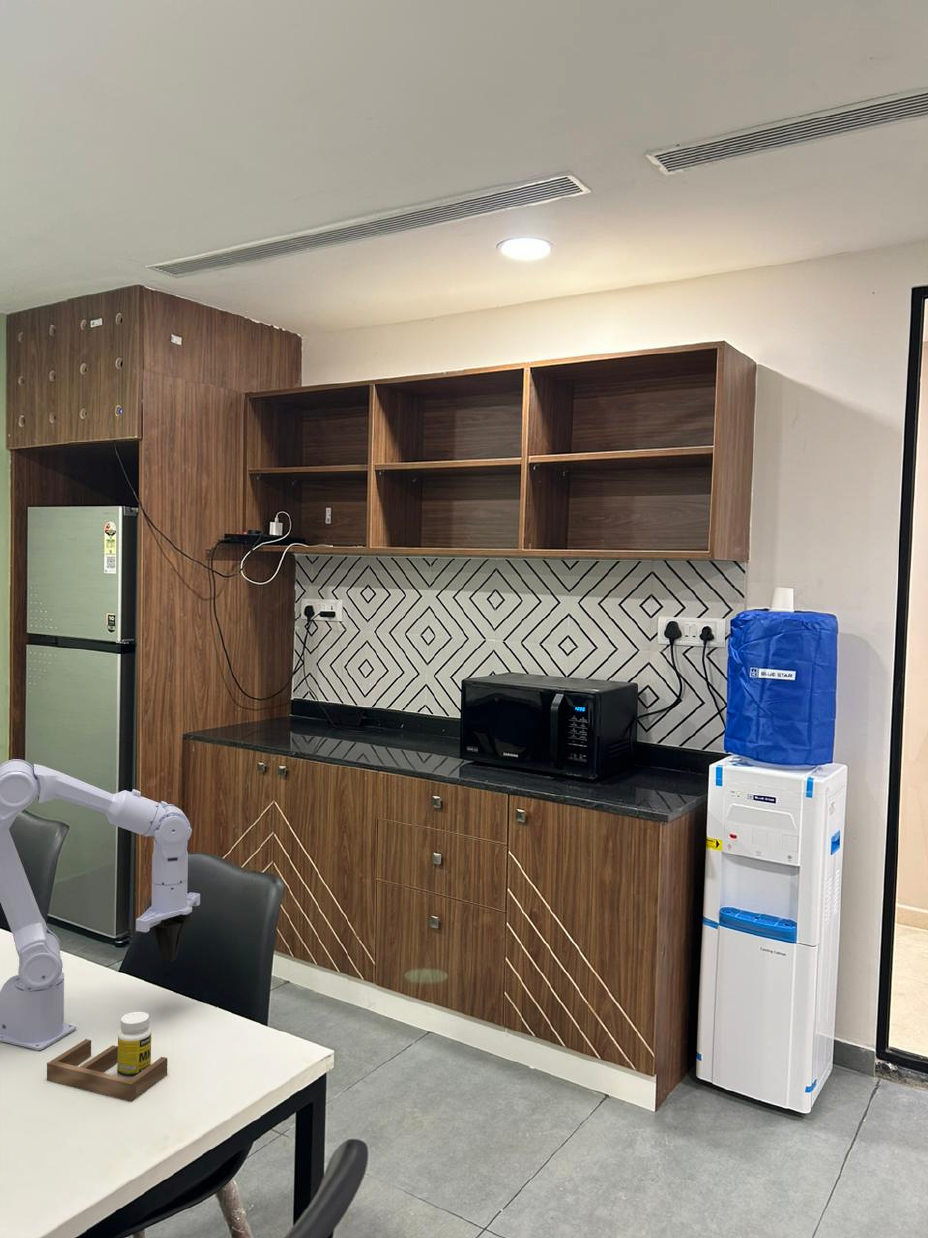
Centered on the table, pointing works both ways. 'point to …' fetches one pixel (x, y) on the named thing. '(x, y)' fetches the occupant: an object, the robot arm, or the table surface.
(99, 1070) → the frame
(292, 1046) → the table surface
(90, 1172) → the table surface
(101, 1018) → the table surface
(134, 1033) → the supplement bottle
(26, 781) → the robot arm
